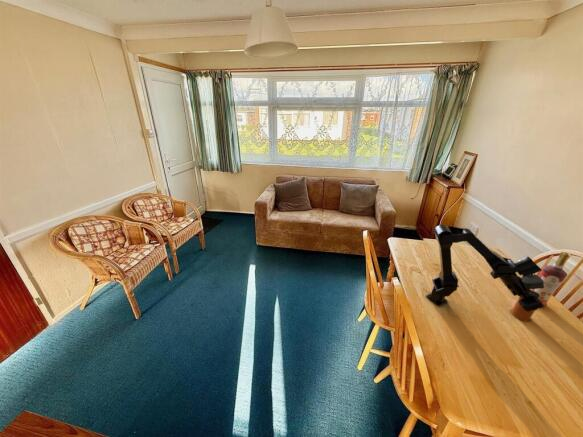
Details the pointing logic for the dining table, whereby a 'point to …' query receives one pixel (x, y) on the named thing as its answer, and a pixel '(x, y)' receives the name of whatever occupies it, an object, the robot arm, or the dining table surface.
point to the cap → (533, 294)
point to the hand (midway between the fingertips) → (531, 304)
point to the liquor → (552, 278)
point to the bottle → (521, 311)
